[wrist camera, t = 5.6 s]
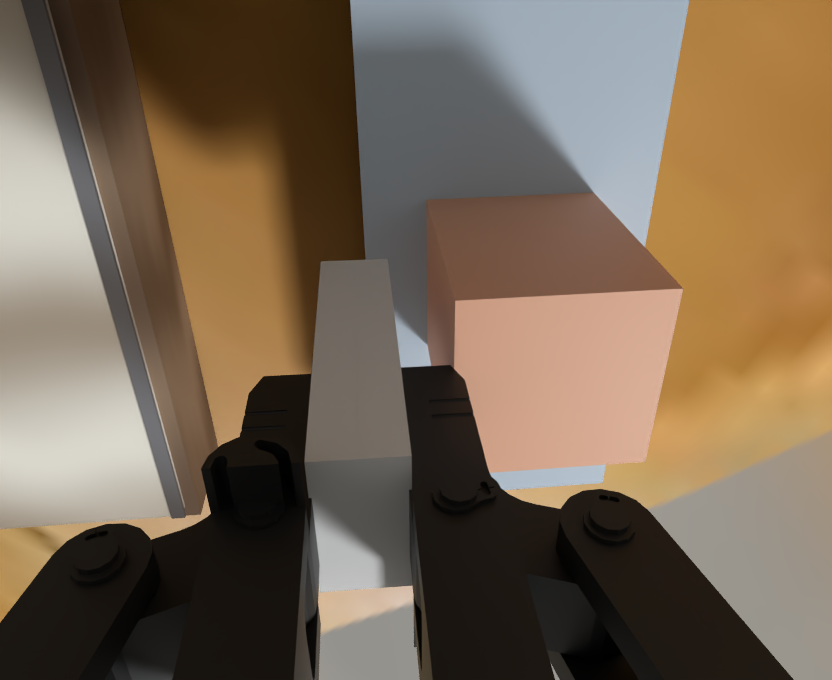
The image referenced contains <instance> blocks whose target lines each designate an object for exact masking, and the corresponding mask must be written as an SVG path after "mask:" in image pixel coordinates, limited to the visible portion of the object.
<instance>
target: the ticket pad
mask: <svg viewBox="0 0 832 680" xmlns="http://www.w3.org/2000/svg"><path fill="white" fill-rule="evenodd" d="M217 448H218V445H217V440H216V436H215V431H214V427H213V422H212V418H211V413H210V409H209V404H208V400H207V395H206V391H205V386H204V382H203V377H202V373H201V368H200V364H199V359H198V355H197V350H196V346H195V341H194V337H193V332H192V328H191V323H190V319H189V314H188V310H187V305H186V301H185V296H184V292H183V287H182V283H181V278H180V274H179V269H178V265H177V260H176V256H175V251H174V247H173V242H172V238H171V233H170V229H169V224H168V220H167V215H166V211H165V206H164V202H163V197H162V193H161V188H160V184H159V179H158V175H157V170H156V166H155V161H154V157H153V152H152V148H151V143H150V139H149V134H148V130H147V125H146V121H145V116H144V112H143V107H142V103H141V98H140V94H139V89H138V85H137V80H136V76H135V71H134V67H133V62H132V58H131V53H130V49H129V44H128V40H127V35H126V31H125V26H124V22H123V17H122V13H121V8H120V3H119V0H0V529H8V528H22V527H36V526H49V525H63V524H77V523H91V522H104V521H118V520H132V519H145V518H159V517H171V518H185V516H186V515H200V514H201V512H202V508H203V504H204V500H205V496H206V489H205V485H204V481H203V476H202V472H201V468H202V466H203V464H204V462H205V460H206V459H207V457H208V456H209V455H210V454H211V453H212V452H213V451H215V450H216V449H217Z"/></svg>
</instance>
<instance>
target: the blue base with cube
mask: <svg viewBox="0 0 832 680" xmlns="http://www.w3.org/2000/svg"><path fill="white" fill-rule="evenodd" d="M688 4H689V0H350V5H351V22H352V39H353V56H354V73H355V90H356V107H357V124H358V141H359V158H360V174H361V191H362V208H363V225H364V242H365V259H366V260H370V259H388V266H389V274H390V282H391V290H392V299H393V307H394V315H395V323H396V331H397V340H398V348H399V356H400V364H401V367H420V366H439V365H451V366H452V367H453V368H454V369H455V370H456V371H457V372H458V373H459V374H460V375H461V376H462V377H463V378H464V379H465V382H466V386H467V390H468V394H469V397H470V401H471V405H472V409H473V415H474V417H475V420H476V424H477V428H478V432H479V436H480V440H481V443H482V447H483V451H484V455H485V459H486V463H487V466H488V470H489V472H490V475H491V477H492V478H494V479H495V480H496V481H497V482H498V484H499V485H500V487H501V489H503V490H511V489H525V488H539V487H553V486H566V485H580V484H594V483H603V477H604V472H605V466H606V465H607V464H621V463H635V462H645V460H646V455H647V451H648V446H649V442H650V437H651V432H652V428H653V423H654V419H655V414H656V410H657V405H658V401H659V396H660V392H661V387H662V382H663V378H664V373H665V369H666V364H667V360H668V355H669V351H670V346H671V342H672V337H673V332H674V328H675V323H676V319H677V314H678V310H679V305H680V301H681V296H682V292H683V288H682V287H681V286H680V285H679V284H678V282H677V281H676V280H675V279H674V278H673V277H672V276H671V275H670V274H669V273H668V272H667V271H666V270H665V268H664V267H663V266H662V265H661V264H660V263H659V262H658V261H657V260H656V259H655V258H654V257H653V256H652V255H651V253H650V252H649V251H648V250H647V249H646V248H645V243H646V238H647V232H648V227H649V221H650V216H651V210H652V204H653V199H654V193H655V188H656V182H657V177H658V171H659V165H660V160H661V154H662V149H663V143H664V138H665V132H666V126H667V121H668V115H669V110H670V104H671V99H672V93H673V87H674V82H675V76H676V71H677V65H678V60H679V54H680V49H681V43H682V37H683V32H684V26H685V21H686V15H687V10H688Z"/></svg>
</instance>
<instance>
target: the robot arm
mask: <svg viewBox="0 0 832 680" xmlns="http://www.w3.org/2000/svg"><path fill="white" fill-rule="evenodd" d="M201 472H202V476H203V481H204V485H205V489H206V494H207V498H208V502H209V507H210V511H211V514H210V515H209V516H208V517H207V518H205V519H203V520H202V521H200V522H198V523H197V524H195V525H193V526H190V527H188V528H185V529H183V530H180V531H177V532H174V533H171V534H168V535H165V536H161V537H158V538H155V539H152V540H150V538H149V537H148V535H147V534H146V533H145V532H144V531H143V530H142V529H141V528H138V527H135V526H132V525H128V524H105V525H102V526H99V527H95V528H92V529H89V530H86V531H84V532H82V533H80V534H79V535H77V536H75V537H73V538H72V539H70V540H68V541H67V542H66V543H65V544H64V545H63V546H62V547H61V548H60V549H58V550H57V551H56V552H55V553H54V554H53V555H52V556H51V558H50V559H49V560H48V562H47V563H46V564H45V566H44V567H43V568H42V569H41V571H40V572H39V573H38V575H37V576H36V577H35V578H34V580H33V581H32V582H31V584H30V585H29V586H28V588H27V589H26V590H25V591H24V593H23V594H22V595H21V597H20V598H19V599H18V601H17V602H16V603H15V604H14V606H13V607H12V608H11V610H10V611H9V612H8V613H7V615H6V616H5V617H4V619H3V620H2V621H1V623H0V680H318V679H319V653H320V626H321V623H320V615H319V607H318V590H319V588H320V592H331V591H344V590H357V589H371V588H384V587H398V586H411V585H413V594H414V647H417V655H418V665H419V677H420V680H555V678H554V674H553V671H552V667H551V664H552V666H553V667H554V669H555V671H556V673H557V675H558V677H559V679H560V680H793V678H792V677H791V676H790V675H789V674H788V673H787V671H786V670H785V669H784V668H783V667H782V666H781V664H780V663H779V662H778V661H777V660H776V659H775V657H774V656H773V655H772V654H771V653H770V652H769V650H768V649H767V648H766V647H765V646H764V645H763V643H762V642H761V641H760V640H759V639H758V638H757V636H756V635H755V634H754V633H753V632H752V631H751V629H750V628H749V627H748V626H747V625H746V624H745V622H744V621H743V620H742V619H741V618H740V617H739V615H738V614H737V613H736V612H735V611H734V610H733V609H732V607H731V606H730V605H729V604H728V603H727V601H726V600H725V599H724V598H723V597H722V596H721V594H720V593H719V592H718V591H717V590H716V589H715V587H714V586H713V585H712V584H711V583H710V582H709V580H708V579H707V578H706V577H705V576H704V575H703V574H702V573H701V571H700V570H699V569H698V568H697V566H696V565H695V564H694V563H693V562H692V561H691V559H690V558H689V557H688V556H687V555H686V554H685V552H684V551H683V550H682V549H681V548H680V547H679V545H678V544H677V543H676V542H675V541H674V540H673V538H672V537H671V536H670V535H669V534H668V533H667V531H666V530H665V529H664V528H663V527H662V526H661V524H660V523H659V522H658V521H657V520H656V519H655V517H654V516H653V515H652V514H651V513H650V512H649V511H648V510H647V509H646V508H645V507H643V506H642V505H641V504H640V503H639V502H638V501H636V500H634V499H632V498H630V497H628V496H626V495H624V494H621V493H619V492H614V491H608V490H603V489H596V490H586V491H582V492H580V493H578V494H575V495H573V496H571V497H569V499H568V500H567V501H566V503H565V504H564V505H563V506H562V508H561V509H557V508H552V507H547V506H541V505H536V504H532V503H529V502H525V501H522V500H519V499H517V498H515V497H513V496H511V495H509V494H508V493H507V492H505V491H504V490H503V489H501V487H500V485H499V484H498V482H497V481H496V480H495V479H494V478H492V477H491V475H490V472H489V470H488V466H487V463H486V459H485V455H484V451H483V447H482V443H481V440H480V436H479V432H478V428H477V424H476V420H475V417H474V415H473V409H472V405H471V401H470V397H469V394H468V390H467V386H466V382H465V379H464V378H463V377H462V376H461V375H460V374H459V373H458V372H457V371H456V370H455V369H454V368H453V367H452V366H451V365H439V366H420V367H401V364H400V356H399V348H398V340H397V331H396V323H395V315H394V307H393V299H392V290H391V282H390V274H389V266H388V259H370V260H344V261H321V266H320V278H319V290H318V302H317V314H316V326H315V339H314V351H313V363H312V374H300V375H281V376H264V377H263V378H262V379H261V380H260V381H259V382H258V384H257V385H256V386H255V387H254V388H253V389H252V391H251V392H250V393H249V396H248V401H247V405H246V410H245V416H244V419H243V424H242V431H241V433H240V437H238V438H236V439H234V440H231V441H229V442H227V443H225V444H222V445H221V446H219V447H218V448H217V449H216V450H215V451H213V452H212V453H211V454H210V455H209V456H208V457H207V459H206V460H205V462H204V464H203V466H202V468H201ZM550 662H551V663H550Z"/></svg>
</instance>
